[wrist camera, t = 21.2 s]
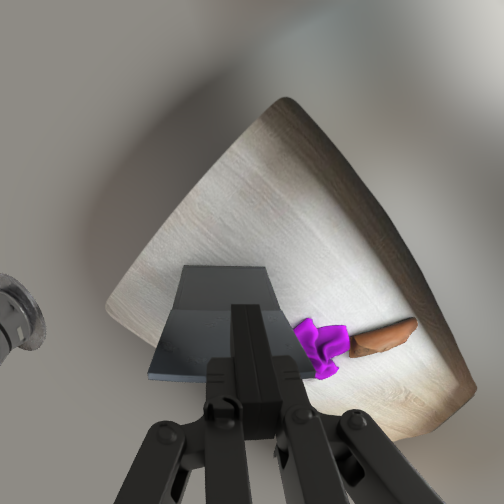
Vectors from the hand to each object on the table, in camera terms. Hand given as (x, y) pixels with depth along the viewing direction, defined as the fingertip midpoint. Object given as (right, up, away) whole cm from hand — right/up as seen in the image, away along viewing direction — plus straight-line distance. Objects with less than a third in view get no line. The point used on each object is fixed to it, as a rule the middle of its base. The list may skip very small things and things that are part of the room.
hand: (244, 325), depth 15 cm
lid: (-2, -6, +14) cm, 15 cm away
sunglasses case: (+32, -17, +46) cm, 59 cm away
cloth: (+14, -20, +46) cm, 52 cm away
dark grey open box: (-5, -5, +37) cm, 38 cm away
